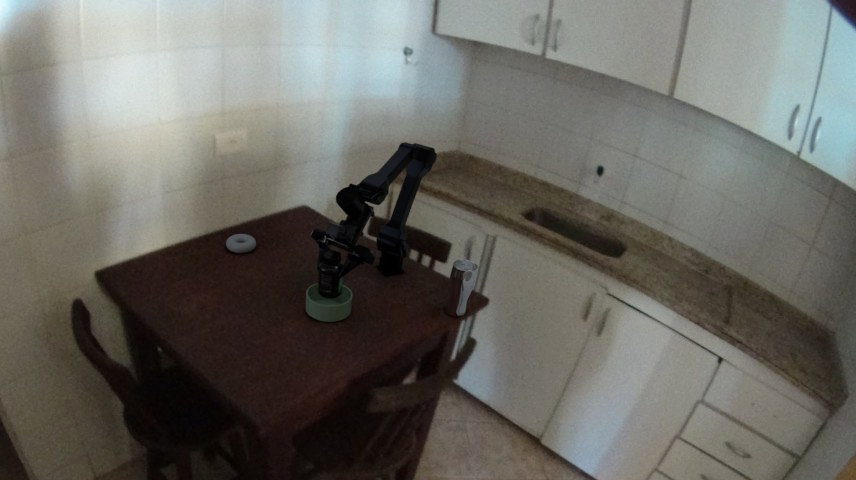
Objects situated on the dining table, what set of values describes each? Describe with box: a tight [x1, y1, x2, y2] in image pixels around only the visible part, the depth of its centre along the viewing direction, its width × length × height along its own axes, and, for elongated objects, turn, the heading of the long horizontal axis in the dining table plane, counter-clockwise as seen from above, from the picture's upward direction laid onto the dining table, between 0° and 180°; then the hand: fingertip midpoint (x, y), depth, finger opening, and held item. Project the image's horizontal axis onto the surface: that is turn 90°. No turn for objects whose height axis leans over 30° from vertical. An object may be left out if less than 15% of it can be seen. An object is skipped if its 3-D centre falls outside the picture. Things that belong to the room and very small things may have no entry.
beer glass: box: [444, 259, 479, 318], centre depth 171 cm, size 7×7×15 cm
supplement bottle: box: [317, 249, 344, 299], centre depth 167 cm, size 7×7×12 cm
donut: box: [225, 233, 257, 254], centre depth 202 cm, size 10×4×10 cm
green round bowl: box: [304, 282, 354, 323], centre depth 173 cm, size 13×13×6 cm
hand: (327, 273), depth 166 cm, fingers closed on supplement bottle, 7 cm apart
